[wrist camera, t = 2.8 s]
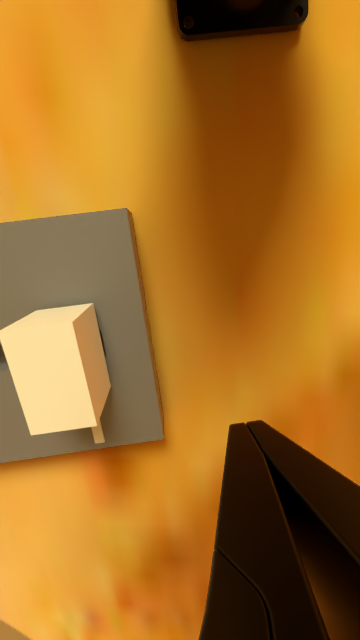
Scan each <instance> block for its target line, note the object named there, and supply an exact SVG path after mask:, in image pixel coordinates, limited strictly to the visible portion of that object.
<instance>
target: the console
mask: <svg viewBox="0 0 360 640" xmlns="http://www.w3.org/2000/svg"><path fill="white" fill-rule="evenodd" d="M90 303H93V304H94V309H95V314H96V318H97V323H98V328H99V332H100V337H101V342H102V347H103V351H104V356H105V361H106V365H107V370H108V375H109V379H110V384H111V387H110V390H109V393H108V396H107V399H106V402H105V405H104V408H103V410H102V413H101V416H100V419H99V422H98V425H97V426H94V427H87V428H80V429H73V430H66V431H59V432H52V433H45V434H38V435H31V434H30V431H29V428H28V425H27V422H26V419H25V415H24V412H23V409H22V406H21V403H20V400H19V397H18V394H17V391H16V388H15V385H14V381H13V378H12V375H11V372H10V369H9V366H8V363H7V360H6V357H5V354H4V351H3V347H2V344H1V341H0V463H5V462H12V461H19V460H26V459H32V458H39V457H46V456H53V455H60V454H67V453H74V452H80V451H87V450H94V449H101V448H108V447H115V446H122V445H129V444H135V443H142V442H149V441H156V440H163V439H164V416H163V409H162V403H161V397H160V390H159V384H158V378H157V371H156V365H155V359H154V352H153V346H152V340H151V333H150V327H149V321H148V314H147V308H146V301H145V295H144V289H143V282H142V276H141V270H140V263H139V257H138V251H137V244H136V238H135V232H134V225H133V219H132V213H131V212H130V211H129V210H128V209H127V208H123V209H114V210H106V211H98V212H89V213H81V214H73V215H64V216H56V217H48V218H39V219H31V220H22V221H14V222H6V223H0V330H2V329H4V328H5V327H7V326H9V325H11V324H13V323H14V322H16V321H18V320H20V319H22V318H24V317H25V316H27V315H29V314H31V313H33V312H34V311H36V310H43V309H51V308H59V307H66V306H74V305H82V304H90Z"/></svg>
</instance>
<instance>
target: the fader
mask: <svg viewBox="0 0 360 640" xmlns="http://www.w3.org/2000/svg"><path fill="white" fill-rule="evenodd" d="M0 341H1V344H2V347H3V351H4V354H5V357H6V360H7V363H8V366H9V369H10V372H11V375H12V378H13V381H14V385H15V388H16V391H17V394H18V397H19V400H20V403H21V406H22V409H23V412H24V415H25V419H26V422H27V425H28V428H29V431H30V434H31V435H38V434H45V433H52V432H59V431H66V430H73V429H80V428H87V427H94V426H97V425H98V422H99V419H100V416H101V413H102V410H103V408H104V405H105V402H106V399H107V396H108V393H109V390H110V387H111V384H110V379H109V375H108V370H107V365H106V361H105V356H104V351H103V347H102V342H101V337H100V332H99V328H98V323H97V318H96V314H95V309H94V304H93V303H90V304H82V305H74V306H66V307H59V308H51V309H43V310H36V311H34V312H33V313H31V314H29V315H27V316H25V317H24V318H22V319H20V320H18V321H16V322H14V323H13V324H11V325H9V326H7V327H5V328H4V329H2V330H0Z"/></svg>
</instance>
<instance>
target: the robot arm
mask: <svg viewBox="0 0 360 640" xmlns="http://www.w3.org/2000/svg"><path fill="white" fill-rule="evenodd" d="M175 4H176V15H177V25H178V32H179V35H180V36H181V38H182V39H184V40H186V41H193V40H203V39H213V38H223V37H233V36H242V35H252V34H262V33H272V32H282V31H292V30H297V29H299V28H300V27H301V26H302V24H303V23H304V21H305V19H306V17H307V15H308V0H175ZM293 12H297V13H298V14H299V17H300V18H296V17H295V16H294V14H293ZM187 22H189V23H190V24H191V25H192V28H191V29H186V28H185V27H184V24H185V23H187ZM199 640H360V486H358V485H357V484H355V483H354V482H353V481H351V480H350V479H348V478H347V477H345V476H344V475H342V474H341V473H339V472H338V471H336V470H335V469H333V468H332V467H330V466H329V465H327V464H326V463H324V462H323V461H321V460H320V459H318V458H317V457H316V456H314V455H313V454H311V453H310V452H308V451H307V450H305V449H304V448H302V447H301V446H299V445H298V444H296V443H295V442H293V441H292V440H290V439H289V438H287V437H286V436H284V435H283V434H281V433H280V432H278V431H277V430H276V429H274V428H273V427H271V426H270V425H268V424H267V423H265V422H264V421H262V420H257V421H250V422H247V423H246V424H245V423H236V424H231V425H230V426H229V433H228V441H227V449H226V457H225V465H224V473H223V481H222V489H221V497H220V505H219V513H218V521H217V529H216V537H215V545H214V552H213V559H212V567H211V575H210V581H209V588H208V594H207V600H206V607H205V613H204V617H203V622H202V627H201V631H200V636H199Z"/></svg>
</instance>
